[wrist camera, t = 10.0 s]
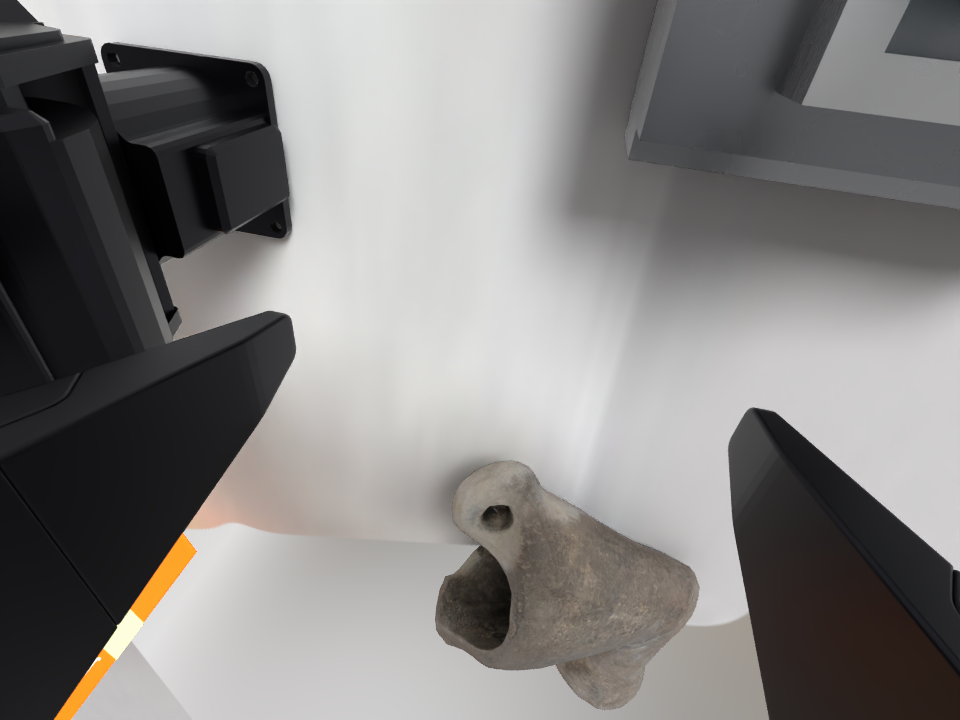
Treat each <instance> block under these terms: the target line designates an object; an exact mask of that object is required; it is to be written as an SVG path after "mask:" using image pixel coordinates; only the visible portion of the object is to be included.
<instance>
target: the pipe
mask: <svg viewBox="0 0 960 720" xmlns="http://www.w3.org/2000/svg"><path fill="white" fill-rule="evenodd" d="M452 514H453V522H454V523H455V524H456V526H457V527H458V528H459V529H460V530H461V531H463V532H464V533H465V534H467V535H468V536H469V537H471V538H472V539H473V540H475V541H476V542H477V543H479V544H480V545H481V546H479V547H478V548H477V549H476V550H475V551H474V552H473V553H472V554H471V556H470V557H469V558H468V559H467V561H466V562H465V563H464V564H463V565H462V566H461V568H460V569H459V570H458V571H456V572H455V573H454V574H452V575H449V576H446V577H445V579H444V582H443V584H442V586H441V588H440V591H439V596H438V601H437V606H436V617H435V622H436V630H437V632H438V634H439V635H440V636H441V637H442V638H443V640H444V641H445V643H446V644H448V645H451V646H455V647H457V648H460V649H462V650H464V651H466V652H467V653H469V654H470V655H471V656H473V657H474V658H475V659H476V660H478V661H479V662H480V663H481V664H483V665H485V666H487V667H488V668H494V669H502V670H528V669H537V668H544V667H548V666H552V665H556V666H557V669H558V671H559V672H560V674H561V675H562V677H563V679H564V680H565V681H566V682H567V684H568V685H569V686H570V688H571V689H572V690H573V691H574V692H575V694H576V695H577V696H578V697H580V698H581V699H583V700H585V701H586V702H588V703H589V704H591V705H592V706H594V707H595V708H597V709H602V710H611V709H616V708H620V707H622V706H624V705H625V704H627V703H628V702H629V701H630V700H631V699H632V698H633V697H634V696H635V695H636V694H637V692H638V690H639V689H640V686H641V683H642V680H643V676H644V669H645V665H646V664H647V663H648V662H649V661H650V660H651V659H652V658H653V657H654V656H655V654H656V653H657V652H658V651H659V650H660V649H661V648H662V647H663V646H664V645H665V644H666V643H667V642H668V641H669V640H670V639H671V638H672V637H673V636H674V635H676V634H677V633H678V632H679V631H680V630H681V629H682V628H683V627H684V625H685V624H686V623H687V621H688V620H689V619H690V617H691V616H692V614H693V612H694V609H695V607H696V604H697V600H698V595H699V584H698V581H697V578H696V576H695V573H694V572H693V571H692V570H691V568H690V567H689V566H687V565H685V564H683V563H681V562H679V561H677V560H675V559H673V558H671V557H669V556H668V555H666V554H664V553H662V552H660V551H657V550H654V549H651V548H648V547H646V546H643V545H641V544H638V543H636V542H634V541H632V540H630V539H628V538H626V537H625V536H623V535H621V534H619V533H617V532H616V531H614V530H612V529H610V528H609V527H607V526H605V525H604V524H602V523H601V522H599V521H597V520H596V519H594V518H593V517H591V516H590V515H588V514H587V513H585V512H584V511H582V510H581V509H579V508H577V507H575V506H574V505H572V504H570V503H568V502H566V501H564V500H563V499H561V498H559V497H557V496H555V495H553V494H551V493H549V492H547V491H546V490H544V489H543V488H542V487H541V486H540V483H539V481H538V479H537V478H536V476H535V474H534V472H533V471H532V470H531V469H530V468H529V467H528V466H526V465H524V464H522V463H520V462H516V461H503V462H495V463H492V464H489V465H487V466H484V467H482V468H480V469H478V470H476V471H474V472H473V473H472V474H471V475H469V476H468V477H467V478H466V479H465V480H463V481H462V482H461V484H460V486H459V487H458V489H457V491H456V494H455V496H454V498H453V503H452Z"/></svg>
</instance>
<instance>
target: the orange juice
mask: <svg viewBox="0 0 960 720" xmlns="http://www.w3.org/2000/svg"><path fill="white" fill-rule="evenodd" d="M196 552H197V551H196V550H195V548H194V547H193V546H192V544H191V543H190V542H189V541H188V539H187V538H186V537H185V535H184V534H183V533H182V535H181V536H180V538H179V539H178V541H177V542H176V544H175V545H174V546H173V548H172V549H171V551H170V552H169V554H168V555H167V557H166V558H165V560H164V561H163V562H162V564H161V565H160V567H159V568H158V570H157V571H156V573H155V574H154V575H153V577H152V578H151V580H150V581H149V583H148V584H147V586H146V587H145V588H144V590H143V591H142V593H141V594H140V596H139V597H138V599H137V600H136V601H135V603H134V604H133V606H132V607H131V609H130V610H129V612H128V613H127V615H126V616H125V617H124V619H123V620H122V622H121V623H120V624H119V625H117V627H118V628H117V630H116V631H115V632H114V634H113V635H112V637H111V638H110V640H109V641H108V643H107V644H106V645H105V647H104V648H103V650H102V651H101V653H100V654H99V656H98V657H97V659H96V660H95V661H94V663H93V664H92V666H91V667H90V669H89V670H88V672H87V673H86V674H85V676H84V677H83V679H82V680H81V682H80V683H79V685H78V686H77V687H76V689H75V690H74V692H73V693H72V695H71V696H70V698H69V699H68V700H67V702H66V703H65V705H64V706H63V708H62V709H61V711H60V712H59V713H58V715H57V716H56V718H55V719H54V720H71V719H72V717H73V716H74V715H75V713H76V712H77V711H78V709H79V708H80V707H81V705H82V704H83V703H84V701H85V700H86V699H87V697H88V696H89V695H90V693H91V692H92V691H93V689H94V688H95V687H96V685H97V684H98V683H99V681H100V680H101V679H102V677H103V676H104V675H105V673H106V672H107V671H108V669H109V668H110V667H111V665H112V664H113V663H114V661H115V660H117V659H118V657H119V656H120V655H121V653H122V652H123V651H124V649H125V648H126V647H127V645H128V644H129V643H130V641H131V640H132V639H133V637H134V636H135V635H136V633H137V632H138V631H139V629H140V628H141V627H142V625H143V624H144V621H145V620H146V619H147V617H148V616H149V614H150V613H151V612H152V611H153V609H154V608H155V607H156V605H157V604H158V603H159V601H160V600H161V599H162V597H163V596H164V595H165V593H166V592H167V591H168V589H169V588H170V587H171V585H172V584H173V583H174V581H175V580H176V579H177V577H178V576H179V575H180V573H181V572H182V571H183V569H184V568H185V567H186V565H187V564H188V563H189V561H190V560H191V558H192V557H193V556H194V555H195V553H196Z"/></svg>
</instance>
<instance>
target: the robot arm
mask: <svg viewBox="0 0 960 720" xmlns="http://www.w3.org/2000/svg"><path fill="white" fill-rule="evenodd" d="M116 54H117V55H118V57H119V59H120V63H121V64H120V63H119V62H118V60H117V58H116ZM101 56H102V60H103V63H104V66H105V69H106V72H107V73H104V74H98V73H97V70H96V67H95V63H98V59H97V56H96V53H95V50H94V47H93V43H92V40H91V38H86V37H79V36H72V35H65V34H62V33H61V31H60V29H57V28H52V27H47V26H44V24H43V22H38V21H37V20H36V19H35V18H34V17H33V16H32V15H31V14H30V13H29V12H28V11H27V10H26V9H25V8H24V7H23V6H22V5H21V4H20V3H19V2H18V1H17V0H0V720H54V719H55V718H56V716H57V715H58V713H59V712H60V711H61V709H62V708H63V706H64V705H65V703H66V702H67V700H68V699H69V698H70V696H71V695H72V693H73V692H74V690H75V689H76V687H77V686H78V685H79V683H80V682H81V680H82V679H83V677H84V676H85V674H86V673H87V672H88V670H89V669H90V667H91V666H92V664H93V663H94V661H95V660H96V659H97V657H98V656H99V654H100V653H101V651H102V650H103V648H104V647H105V645H106V644H107V643H108V641H109V640H110V638H111V637H112V635H113V634H114V632H115V631H116V630H117V628H118V627H117V625H119V624H120V623H121V622H122V620H123V619H124V617H125V616H126V615H127V613H128V612H129V610H130V609H131V607H132V606H133V604H134V603H135V601H136V600H137V599H138V597H139V596H140V594H141V593H142V591H143V590H144V588H145V587H146V586H147V584H148V583H149V581H150V580H151V578H152V577H153V575H154V574H155V573H156V571H157V570H158V568H159V567H160V565H161V564H162V562H163V561H164V560H165V558H166V557H167V555H168V554H169V552H170V551H171V549H172V548H173V546H174V545H175V544H176V542H177V541H178V539H179V538H180V536H181V535H182V533H183V532H184V531H185V529H186V528H187V526H188V525H189V523H190V522H191V520H192V519H193V518H194V516H195V515H196V513H197V512H198V510H199V509H200V507H201V506H202V504H203V503H204V502H205V500H206V499H207V497H208V496H209V494H210V493H211V491H212V490H213V489H214V487H215V486H216V484H217V483H218V481H219V480H220V478H221V477H222V476H223V474H224V473H225V471H226V470H227V468H228V467H229V465H230V464H231V463H232V461H233V460H234V458H235V457H236V455H237V454H238V452H239V451H240V449H241V448H242V447H243V445H244V444H245V442H246V441H247V439H248V438H249V436H250V435H251V434H252V432H253V431H254V429H255V428H256V426H257V425H258V423H259V422H260V420H261V419H262V417H263V415H264V414H265V412H266V410H267V409H268V407H269V405H270V403H271V401H272V399H273V397H274V395H275V394H276V392H277V390H278V388H279V386H280V384H281V382H282V380H283V379H284V377H285V375H286V373H287V371H288V369H289V367H290V365H291V364H292V362H293V360H294V357H295V354H296V344H295V338H294V332H293V326H292V321H291V318H290V317H289V316H288V315H287V314H284V313H279V312H274V311H266V312H263V313H260V314H257V315H254V316H251V317H248V318H245V319H241V320H238V321H235V322H232V323H229V324H226V325H223V326H220V327H217V328H214V329H211V330H208V331H205V332H201V333H198V334H195V335H192V336H189V337H186V338H183V339H180V340H177V341H174V342H172V340H173V335H174V334H175V332H176V331H177V329H178V327H179V326H180V324H181V322H182V320H181V317H180V314H179V311H178V308H177V307H175V306H173V303H172V300H171V297H170V294H169V291H168V288H167V285H166V281H165V278H164V275H163V272H162V269H161V266H160V264H162V263H164V262H166V261H167V260H169V259H171V258H173V257H174V258H183V257H185V256H187V255H188V254H190V253H192V252H193V251H195V250H197V249H198V248H200V247H202V246H204V245H205V244H207V243H209V242H210V241H212V240H214V239H215V238H217V237H219V236H221V235H222V234H229V233H231V232H233V231H234V230H235V231H241V232H246V233H252V234H257V235H263V236H269V237H274V238H283V237H284V236H286V235H287V234H289V233H290V231H291V229H292V225H291V218H290V210H289V203H288V196H289V187H288V180H287V173H286V165H285V158H284V151H283V144H282V137H281V132H280V131H279V129H278V126H277V119H276V112H275V105H274V98H273V91H272V84H271V78H270V75H269V73H268V71H267V69H266V68H265V67H264V66H263V65H262V64H260V63H258V62H254V61H247V60H240V59H232V58H225V57H218V56H211V55H204V54H197V53H190V52H182V51H175V50H168V49H161V48H154V47H147V46H140V45H133V44H125V43H118V42H117V43H105V44H104V45H103V46H102V48H101ZM252 72H254V73H255V74H256V75H257V77H258V85H256V84H255V83H254V82H253V80H252V77H251V76H252ZM275 221H276V222H278V223H279V224H280V225H281V228H282V229H279V228H278V227H277V226H276V223H275ZM728 456H729V473H730V490H731V507H732V519H733V527H734V533H735V539H736V544H737V550H738V555H739V560H740V566H741V571H742V576H743V582H744V587H745V592H746V598H747V603H748V608H749V613H750V619H751V624H752V629H753V635H754V640H755V646H756V651H757V656H758V662H759V667H760V672H761V678H762V683H763V688H764V693H765V698H766V704H767V710H768V715H769V720H960V571H958V570H953V566H952V565H951V564H950V563H949V562H948V561H947V560H945V559H944V558H943V557H942V556H941V555H940V554H939V553H937V552H936V551H935V550H934V549H933V548H932V547H930V546H929V545H928V544H927V543H926V542H925V541H924V540H922V539H921V538H920V537H919V536H918V535H917V534H915V533H914V532H913V531H912V530H911V529H910V528H909V527H907V526H906V525H905V524H904V523H903V522H902V521H900V520H899V519H898V518H897V517H896V516H895V515H894V514H892V513H891V512H890V511H889V510H888V509H887V508H885V507H884V506H883V505H882V504H881V503H880V502H879V501H877V500H876V499H875V498H874V497H873V496H872V495H870V494H869V493H868V492H867V491H866V490H865V489H864V488H862V487H861V486H860V485H859V484H858V483H857V482H855V481H854V480H853V479H852V478H851V477H850V476H849V475H847V474H846V473H845V472H844V471H843V470H842V469H840V468H839V467H838V466H837V465H836V464H835V463H833V462H832V461H831V460H830V459H829V458H828V457H827V456H825V455H824V454H823V453H822V452H821V451H820V450H818V449H817V448H816V447H815V446H814V445H813V444H812V443H810V442H809V441H808V440H807V439H806V438H805V437H803V436H802V435H801V434H800V433H799V432H798V431H797V430H795V429H794V428H793V427H792V426H791V425H790V424H788V423H787V422H786V421H785V420H784V419H783V418H782V417H780V416H779V415H778V414H777V413H776V412H773V411H769V410H764V409H759V408H750V409H748V410H747V411H746V413H745V414H744V416H743V418H742V419H741V421H740V423H739V425H738V426H737V428H736V430H735V431H734V433H733V435H732V437H731V439H730V442H729V446H728Z"/></svg>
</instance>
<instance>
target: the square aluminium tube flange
mask: <svg viewBox="0 0 960 720" xmlns="http://www.w3.org/2000/svg"><path fill="white" fill-rule="evenodd" d="M625 143H626V150H627V156H628V159H629V160H635V161H642V162H649V163H655V164H662V165H669V166H675V167H682V168H689V169H695V170H702V171H709V172H715V173H722V174H729V175H735V176H742V177H749V178H755V179H762V180H769V181H775V182H782V183H789V184H795V185H802V186H809V187H815V188H822V189H829V190H835V191H842V192H849V193H855V194H862V195H869V196H875V197H882V198H889V199H895V200H902V201H909V202H915V203H922V204H929V205H935V206H942V207H949V208H955V209H960V0H658V1H657V5H656V9H655V13H654V17H653V21H652V25H651V29H650V33H649V37H648V41H647V45H646V49H645V53H644V57H643V61H642V65H641V69H640V73H639V77H638V81H637V85H636V89H635V92H634V96H633V100H632V104H631V114H630V117H629V121H628V125H627V129H626V133H625Z"/></svg>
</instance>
